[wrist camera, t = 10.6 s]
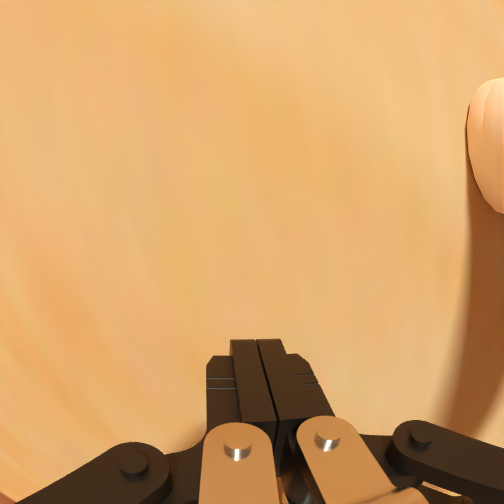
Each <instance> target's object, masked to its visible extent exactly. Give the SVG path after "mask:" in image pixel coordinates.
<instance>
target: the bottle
mask: <svg viewBox="0 0 504 504" xmlns="http://www.w3.org/2000/svg"><path fill="white" fill-rule="evenodd" d="M467 136H468V153H469V157H470V161H471V165H472V169H473V173H474V178H475V180H476V182H477V184H478V187H479V189H480V191H481V193H482V195H483V197H484V199H485V200H486V201H487V203H488V204H489V205H490V206H491V207H492V208H493V209H494V210H495V211H496V212H499V213H502V214H504V77H502V78H498V79H493V80H489V81H487V82H485V83H484V84H482V85H481V86H479V87H478V88H477V90H476V92H475V94H474V96H473V98H472V100H471V102H470V108H469V115H468V122H467Z"/></svg>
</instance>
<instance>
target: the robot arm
mask: <svg viewBox="0 0 504 504" xmlns="http://www.w3.org/2000/svg"><path fill="white" fill-rule="evenodd" d="M206 399H207V431H206V434H205V436H204V437H203V439H202V440H201V441H200V442H199V443H198V444H197V445H195V446H193V447H192V448H190V449H187V450H184V451H181V452H176V453H171V454H166V455H164V454H163V453H162V452H161V451H160V450H158V449H157V448H155V447H153V446H151V445H148V444H145V443H139V442H128V443H122V444H119V445H116V446H114V447H112V448H111V449H109V450H107V451H106V452H104V453H103V454H101V455H100V456H98V457H96V458H95V459H93V460H91V461H90V462H88V463H87V464H85V465H83V466H82V467H80V468H78V469H77V470H75V471H73V472H71V473H70V474H68V475H66V476H65V477H63V478H61V479H59V480H58V481H56V482H54V483H52V484H51V485H49V486H47V487H45V488H43V489H41V490H40V491H38V492H36V493H34V494H32V495H30V496H28V497H26V498H25V499H23V500H21V501H19V502H17V503H15V504H280V503H279V495H278V488H277V481H276V477H281V479H282V483H283V491H282V495H281V499H282V503H283V504H504V448H501V447H497V446H494V445H491V444H488V443H485V442H482V441H479V440H476V439H473V438H470V437H467V436H464V435H462V434H459V433H456V432H453V431H450V430H448V429H445V428H442V427H440V426H437V425H434V424H432V423H429V422H426V421H421V420H411V421H406V422H404V423H402V424H400V425H399V426H398V427H397V428H396V429H395V431H394V433H393V435H392V436H379V435H363V434H358V432H357V431H356V429H355V428H354V427H353V426H352V425H351V424H350V423H348V422H347V421H345V420H343V419H340V418H337V417H335V415H334V413H333V411H332V409H331V407H330V405H329V403H328V401H327V399H326V397H325V395H324V393H323V391H322V389H321V387H320V385H318V381H317V379H316V377H315V375H314V373H313V371H312V369H311V367H310V365H309V363H308V362H307V361H306V360H305V359H303V358H302V357H301V356H300V355H298V354H286V351H285V349H284V346H283V344H282V341H281V340H280V339H256V340H254V339H248V340H230V356H213V357H212V358H211V360H210V361H209V363H208V364H207V365H206ZM423 481H425V482H428V483H430V484H433V485H435V486H438V487H441V488H443V489H446V490H449V491H452V492H455V493H458V494H461V496H450V495H447V494H444V493H442V492H439V491H436V490H434V489H431V488H428V487H426V486H423V485H421V484H422V483H423Z"/></svg>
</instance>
